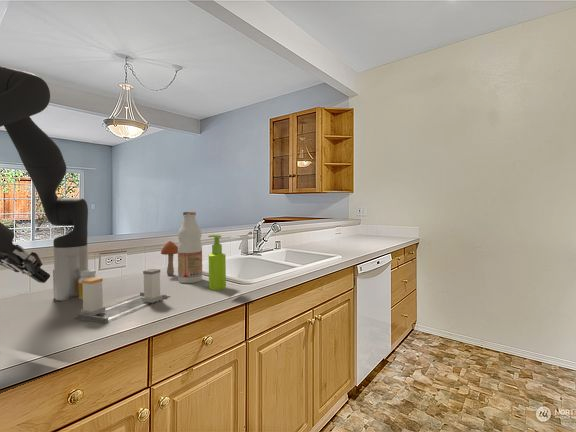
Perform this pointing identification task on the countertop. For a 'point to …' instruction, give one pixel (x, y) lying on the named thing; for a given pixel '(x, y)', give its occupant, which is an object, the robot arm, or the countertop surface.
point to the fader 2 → (151, 285)
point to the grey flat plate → (119, 309)
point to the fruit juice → (189, 250)
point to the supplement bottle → (85, 275)
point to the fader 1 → (92, 296)
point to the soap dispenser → (217, 266)
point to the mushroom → (170, 255)
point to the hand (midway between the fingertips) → (45, 279)
